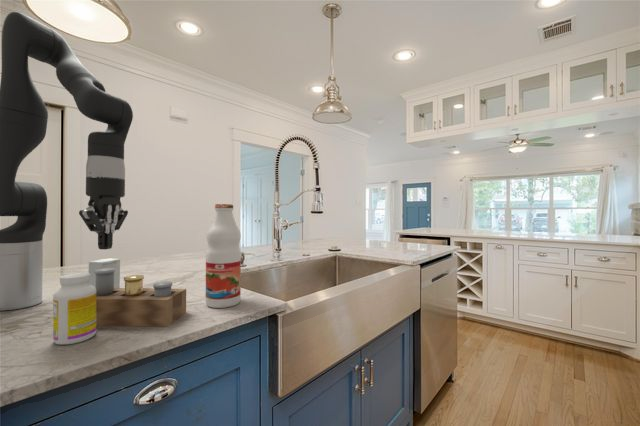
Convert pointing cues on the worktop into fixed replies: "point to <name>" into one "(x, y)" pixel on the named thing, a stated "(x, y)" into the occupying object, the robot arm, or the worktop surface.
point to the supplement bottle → (74, 309)
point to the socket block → (140, 308)
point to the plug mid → (133, 285)
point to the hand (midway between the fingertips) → (105, 248)
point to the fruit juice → (223, 260)
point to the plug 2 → (162, 289)
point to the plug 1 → (104, 281)
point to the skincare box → (102, 265)
